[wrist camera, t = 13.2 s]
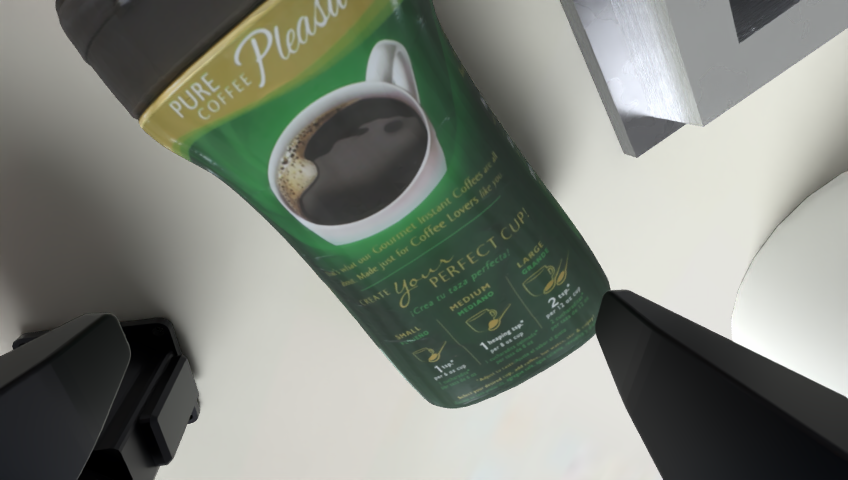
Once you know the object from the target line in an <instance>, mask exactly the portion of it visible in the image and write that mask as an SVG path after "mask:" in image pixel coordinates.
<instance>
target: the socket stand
mask: <svg viewBox="0 0 848 480" xmlns="http://www.w3.org/2000/svg"><path fill="white" fill-rule="evenodd" d="M560 2H561V4H562V6H563V9H564V11H565V14H566V16H567V18H568V21H569V23H570V25H571V28H572V30H573V33H574V35H575V37H576V40H577V42H578V45H579V47H580V49H581V52H582V54H583V56H584V59H585V61H586V64H587V66H588V68H589V71H590V73H591V76H592V78H593V80H594V83H595V85H596V87H597V90H598V92H599V95H600V97H601V99H602V102H603V104H604V106H605V109H606V111H607V114H608V116H609V118H610V121H611V123H612V126H613V128H614V130H615V133H616V135H617V137H618V140H619V142H620V145H621V147H622V149H623V152H624V153H625V154H627V155H630V156H633V157H636V158H637V157H639V156H640V155H642V154H643V153H645V152H646V151H648V150H649V149H650V148H652V147H653V146H655V145H656V144H658V143H659V142H661V141H662V140H664V139H665V138H666V137H668V136H669V135H671V134H672V133H674V132H675V131H677V130H678V129H679V128H681V127H682V126H684V125H685V124H692V125H697V126H702V127H704V126H705V125H707V124H708V123H709V122H711V121H712V120H714V119H715V118H717V117H718V116H720V115H721V114H723V113H724V112H725V111H727V110H728V109H730V108H731V107H733V106H734V105H736V104H737V103H739V102H740V101H742V100H743V99H744V98H746V97H747V96H749V95H750V94H752V93H753V92H755V91H756V90H758V89H759V88H761V87H762V86H763V85H765V84H766V83H768V82H769V81H771V80H772V79H774V78H775V77H777V76H778V75H780V74H781V73H782V72H784V71H785V70H787V69H788V68H790V67H791V66H793V65H794V64H796V63H797V62H798V61H800V60H801V59H803V58H804V57H806V56H807V55H809V54H810V53H812V52H813V51H815V50H816V49H817V48H819V47H820V46H822V45H823V44H825V43H826V42H828V41H829V40H831V39H832V38H834V37H835V36H836V35H838V34H839V33H841V32H842V31H844V30H845V29H847V28H848V0H560Z"/></svg>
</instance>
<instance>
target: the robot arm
mask: <svg viewBox="0 0 848 480" xmlns="http://www.w3.org/2000/svg"><path fill="white" fill-rule="evenodd" d="M156 327H160V328H162V329H163V330H164V331H159V330H157V329H156ZM595 332H596V336H597V338H598V341H599V343H600V346H601V348H602V351H603V354H604V356H605V359H606V361H607V364H608V366H609V369H610V371H611V374H612V376H613V379H614V381H615V384H616V386H617V389H618V391H619V394H620V396H621V398H622V401H623V403H624V405H625V407H626V409H627V411H628V413H629V415H630V417H631V419H632V421H633V423H634V425H635V427H636V429H637V431H638V433H639V434H640V436H641V438H642V440H643V442H644V444H645V446H646V448H647V450H648V452H649V454H650V455H651V457H652V459H653V461H654V463H655V465H656V467H657V469H658V471H659V473H660V475H661V476H662V478H663V480H848V398H847V397H846V396H844V395H842V394H840V393H837V392H835V391H833V390H831V389H829V388H827V387H825V386H823V385H821V384H819V383H817V382H815V381H813V380H811V379H809V378H807V377H805V376H803V375H801V374H799V373H797V372H795V371H793V370H790V369H788V368H786V367H784V366H782V365H780V364H778V363H776V362H774V361H772V360H770V359H768V358H766V357H764V356H762V355H760V354H758V353H756V352H754V351H752V350H750V349H748V348H746V347H744V346H742V345H739V344H737V343H735V342H733V341H731V340H729V339H727V338H725V337H723V336H721V335H719V334H717V333H715V332H713V331H711V330H709V329H707V328H705V327H703V326H701V325H699V324H697V323H695V322H693V321H690V320H688V319H686V318H684V317H682V316H680V315H678V314H676V313H674V312H672V311H670V310H668V309H666V308H664V307H662V306H660V305H658V304H656V303H654V302H652V301H650V300H648V299H646V298H644V297H642V296H639V295H637V294H635V293H633V292H631V291H629V290H609V291H607V292H605V294H604V295H603V297H602V301H601V304H600V308H599V312H598V315H597V319H596V323H595ZM12 347H13V350H12V351H10V352H8V353H6V354H4V355H2V356H0V480H154V479H155V476H156V474H157V472H158V469H159V467H160V466H163V465H168V464H169V463H170V462H171V461H172V459H173V458H174V456H175V453H176V451H177V448H178V446H179V443H180V441H181V438H182V436H183V433H184V431H185V428H186V426H187V424H190V423H193V422H195V421H196V420H197V419H198V416H199V414H200V408H199V405H198V402H197V398H198V396H199V393H198V390H197V386H196V383H195V380H194V377H193V374H192V371H191V368H190V365H189V362H188V359H187V358H186V357H185V356H184V355H182V353H181V350H180V347H179V344H178V340H177V337H176V334H175V331H174V328H173V325H172V324H171V322H170V321H168V320H167V319H164V318H155V319H146V320H137V321H128V322H120V323H119V320H118V319H117V317H116V316H115V315H114V314H111V313H91V314H85V315H82V316H80V317H78V318H76V319H74V320H72V321H70V322H68V323H66V324H64V325H62V326H60V327H58V328H56V329H54V330H50V331H41V332H33V333H26V334H23V335H21V336H20V337H19V338H18V339H17V340H15V341H14V342H13V345H12Z"/></svg>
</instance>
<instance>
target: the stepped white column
mask: <svg viewBox="0 0 848 480" xmlns="http://www.w3.org/2000/svg"><path fill="white" fill-rule="evenodd" d="M731 324H732V341H733V342H735V343H737V344H739V345H742V346H744V347H746V348H748V349H750V350H752V351H754V352H756V353H758V354H760V355H762V356H764V357H766V358H768V359H770V360H772V361H774V362H776V363H778V364H780V365H782V366H784V367H786V368H788V369H790V370H793V371H795V372H797V373H799V374H801V375H803V376H805V377H807V378H809V379H811V380H813V381H815V382H817V383H819V384H821V385H823V386H825V387H827V388H829V389H831V390H833V391H835V392H837V393H840V394H842V395H844V396H846V397H847V398H848V171H846V172H844V173H842V174H840V175H839V176H837V177H836V178H834V179H833V180H832V181H830V182H829V183H827V184H826V185H824V186H823V187H822V188H820V189H819V190H817V191H816V192H814V193H813V194H812V195H810V196H809V197H807V198H806V199H805V200H804V201H803V202H802V203H801V204H800V205H799V206H798V207H797V208H796V209H795V210H794V211H793V212H792V213H791V214H790V215H789V216H788V217H787V218H786V219H785V220H784V221H783V222H782V223H781V224H780V225H778V226H777V228H776V229H775V230H774V232H773V233H772V234H771V236H770V237H769V239H768V240H767V241H766V243H765V244H764V245H763V247H762V248H761V249H760V251H759V252H758V253H757V255H756V256H755V257H754V259H753V261H752V263H751V265H750V267H749V269H748V271H747V273H746V275H745V277H744V279H743V281H742V283H741V285H740V287H739V289H738V293H737V297H736V301H735V305H734V309H733V313H732V317H731Z"/></svg>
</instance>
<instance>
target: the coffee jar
mask: <svg viewBox="0 0 848 480" xmlns="http://www.w3.org/2000/svg"><path fill="white" fill-rule="evenodd" d="M56 11H57V14H58V16H59V21H60V24H61V27H62V29H63V30H64V32H65V33H66V35H67V37H68V38H69V39H70V41H71V42H72V43H73V45H74V46H75V48H76V49H77V50H78V52H79V53H80V55H81V56H82V58H83V59H84V60H85V62H86V63H88V64H89V65H91V66H92V68H93V69H94V70H95V71H96V73H97V74H98V75H99V77H100V78H101V79H102V80H103V82H104V83H105V84H106V85H107V87H108V88H109V89H110V90H111V92H112V93H113V94H114V95H115V97H116V98H117V99H118V100H119V101H120V102H121V103H122V105H123V106H124V107H125V108H126V109H127V110H128V112H129V113H130V114H131V116H132V117H133V118H135V119H138V120H139V124H140V127H141V128H142V129H143V130H144V131H145V132H146V133H147V134H149V135H150V136H151V137H152V138H153V139H154V140H156V141H157V142H158V143H160V144H161V145H162V146H164V147H165V148H167V149H169V150H170V151H172V152H174V153H175V154H177V155H179V156H181V157H183V158H185V159H186V160H188V161H190V162H192V163H194V164H196V165H198V166H200V167H201V168H203V169H205V170H207V171H208V172H210V173H212V174H213V175H215V176H216V177H218V178H219V179H220V180H222V181H223V182H224V183H226V184H227V185H228V186H229V187H231V188H232V189H233V190H234V191H235V192H237V193H238V194H239V195H240V196H241V197H242V198H243V199H244V200H246V201H247V202H248V203H249V204H250V205H251V206H252V207H253V208H254V209H255V210H256V211H257V212H258V213H260V214H261V215H262V216H263V217H264V218H265V219H266V220H267V221H268V222H269V223H270V224H271V225H272V226H273V227H274V228H275V229H276V230H277V231H278V232H279V233H280V234H281V235H282V236H283V237H284V238H285V239H286V240H287V242H288V243H289V244H290V245H291V246H292V247H293V248H294V249H295V250H296V251H297V252H298V254H299V255H300V256H301V257H302V258H303V259H304V260H305V261H306V262H307V263H308V265H309V266H310V267H311V268H312V269H313V270H314V272H315V273H316V274H317V275H318V276H319V277H320V279H321V280H322V281H323V282H324V283H325V284H326V285H327V286H328V287H329V288H330V290H331V291H332V292H333V293H334V294H335V295H336V297H337V298H338V299H339V300H340V301H341V302H342V304H343V305H344V306H345V307H346V308H347V310H348V311H349V312H350V313H351V314H352V316H353V317H354V318H355V319H356V320H357V321H358V323H359V324H360V325H361V327H362V328H363V329H364V330H365V332H366V333H367V334H368V335H369V337H370V338H371V339H372V340H373V341H374V343H375V344H376V345H377V346H378V348H379V349H380V350H381V351H382V352H383V354H384V355H385V356H386V357H387V358H388V360H389V361H390V362H391V363H392V364H393V365H394V367H395V368H396V369H397V370H398V371H399V372H400V374H401V375H402V376H403V377H404V378H405V379H406V380H407V381H408V382H409V383H410V384H411V386H412V387H413V388H414V389H415V390H416V391H417V392H418V393H419V394H420V395H421V396H422V397H423V398H424V399H426V400H427V401H428V402H429V403H431V404H433V405H436V406H440V407H444V408H461V407H466V406H470V405H473V404H476V403H479V402H481V401H483V400H486V399H488V398H491V397H494V396H496V395H498V394H499V393H502V392H504V391H507V390H509V389H511V388H513V387H515V386H518V385H519V384H521V383H523V382H524V381H526V380H528V379H530V378H532V377H533V376H535V375H537V374H539V373H540V372H542V371H544V370H546V369H547V368H549V367H551V366H552V365H554V364H556V363H557V362H559V361H560V360H562V359H563V358H565V357H566V356H568V355H569V354H571V353H572V352H573V351H575V350H576V349H578V348H579V347H581V346H582V345H583V344H584V343H586V342H587V341H588V340H589V339H590V338H592V337H593V336H594V335H595V333H596V332H595V323H596V319H597V315H598V312H599V308H600V304H601V301H602V297H603V295H604V294H605V292H607V291H609V290H610V285H609V281H608V279H607V277H606V275H605V273H604V271H603V269H602V268H601V266H600V264H599V263H598V261H597V259H596V257H595V256H594V254H593V252H592V251H591V249H590V248H589V246H588V245H587V243H586V241H585V240H584V238H583V237H582V235H581V234H580V233H579V231H578V230H577V228H576V227H575V225H574V224H573V223H572V221H571V220H570V219H569V217H568V216H567V214H566V213H565V212H564V210H563V209H562V208H561V206H560V205H559V203H558V202H557V201H556V199H555V198H554V197H553V195H552V194H551V193H550V192H549V190H548V189H547V188H546V186H545V185H544V184H543V182H542V181H541V180H540V178H539V177H538V176H537V174H536V173H535V172H534V170H533V169H532V168H531V166H530V165H529V163H528V162H527V161H526V159H525V158H524V157H523V155H522V154H521V152H520V151H519V150H518V148H517V147H516V146H515V144H514V143H513V141H512V140H511V139H510V137H509V136H508V134H507V133H506V131H505V130H504V129H503V127H502V126H501V124H500V123H499V121H498V120H497V118H496V117H495V116H494V114H493V113H492V111H491V110H490V108H489V107H488V105H487V104H486V102H485V101H484V99H483V97H482V96H481V94H480V93H479V91H478V90H477V88H476V86H475V85H474V83H473V82H472V80H471V78H470V77H469V75H468V73H467V72H466V70H465V68H464V67H463V65H462V63H461V62H460V60H459V58H458V57H457V55H456V53H455V52H454V50H453V48H452V46H451V45H450V43H449V41H448V39H447V37H446V35H445V34H444V32H443V30H442V28H441V25H440V23H439V21H438V19H437V16H436V13H435V10H434V6H433V3H432V0H56Z"/></svg>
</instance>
